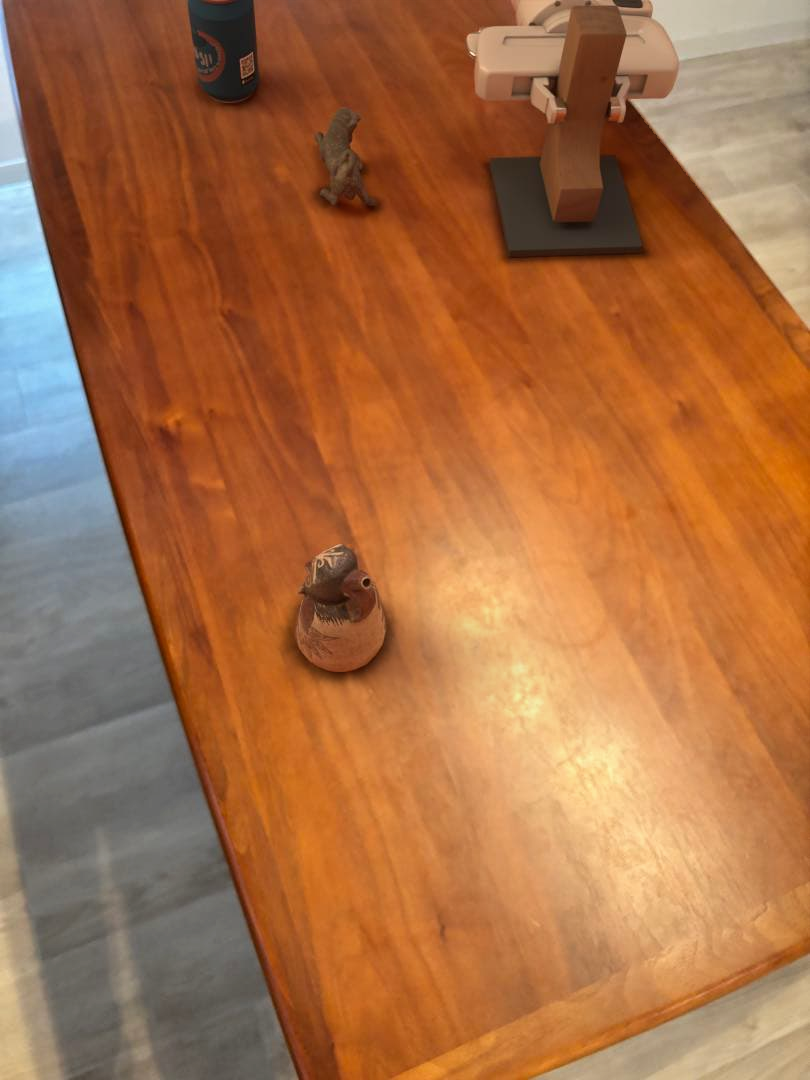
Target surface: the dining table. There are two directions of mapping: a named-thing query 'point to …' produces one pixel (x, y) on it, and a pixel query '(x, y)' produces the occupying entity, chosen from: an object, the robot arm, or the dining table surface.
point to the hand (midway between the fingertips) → (588, 117)
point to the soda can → (225, 48)
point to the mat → (541, 236)
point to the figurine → (339, 612)
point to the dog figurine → (342, 159)
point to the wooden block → (582, 112)
